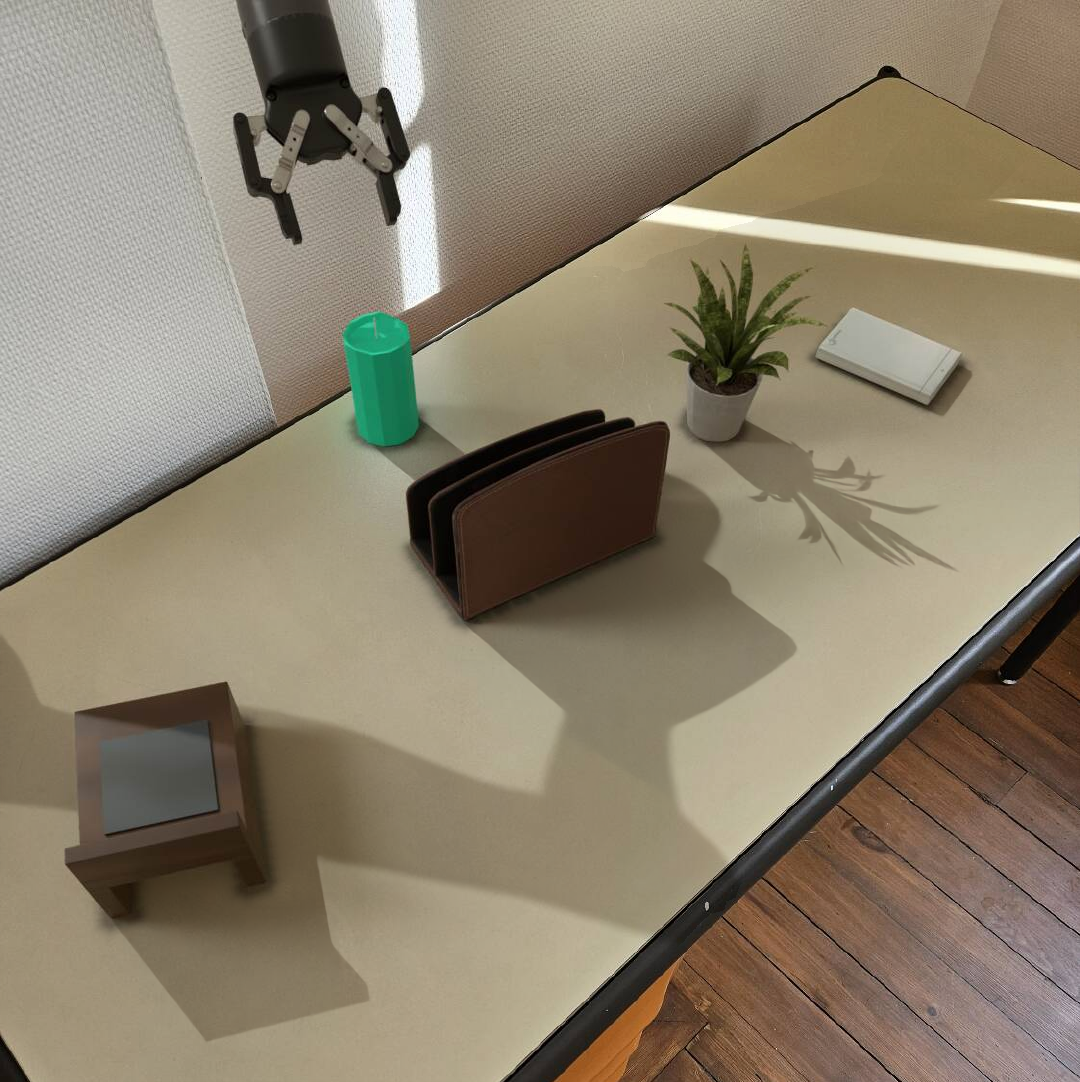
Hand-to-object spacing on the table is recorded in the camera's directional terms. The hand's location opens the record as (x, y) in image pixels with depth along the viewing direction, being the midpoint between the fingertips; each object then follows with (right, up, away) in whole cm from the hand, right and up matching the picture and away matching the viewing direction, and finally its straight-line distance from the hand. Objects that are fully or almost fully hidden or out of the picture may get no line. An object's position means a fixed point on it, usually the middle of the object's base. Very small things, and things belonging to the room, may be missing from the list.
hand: (346, 233), depth 93 cm
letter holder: (+17, -27, +2) cm, 32 cm away
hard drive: (+53, -6, +16) cm, 56 cm away
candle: (+2, -14, +10) cm, 17 cm away
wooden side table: (-10, -50, -14) cm, 53 cm away
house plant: (+35, -14, +11) cm, 40 cm away
